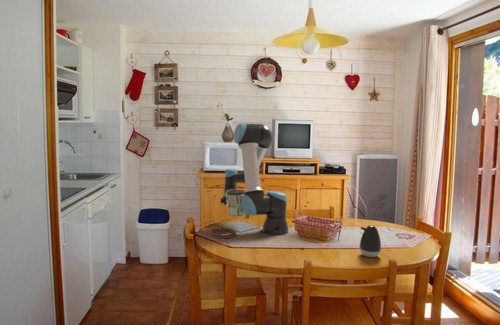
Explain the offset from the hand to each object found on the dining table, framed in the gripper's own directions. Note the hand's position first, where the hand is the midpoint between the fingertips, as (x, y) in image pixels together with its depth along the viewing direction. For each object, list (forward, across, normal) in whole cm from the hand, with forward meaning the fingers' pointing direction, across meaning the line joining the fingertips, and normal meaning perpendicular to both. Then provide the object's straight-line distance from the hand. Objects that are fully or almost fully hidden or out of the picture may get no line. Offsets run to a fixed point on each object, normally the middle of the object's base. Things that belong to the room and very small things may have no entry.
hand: (238, 204), depth 232 cm
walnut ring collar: (+9, +10, -15) cm, 20 cm away
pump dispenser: (+52, -56, -14) cm, 78 cm away
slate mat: (-4, -2, -15) cm, 16 cm away
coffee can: (-3, 0, -7) cm, 8 cm away
